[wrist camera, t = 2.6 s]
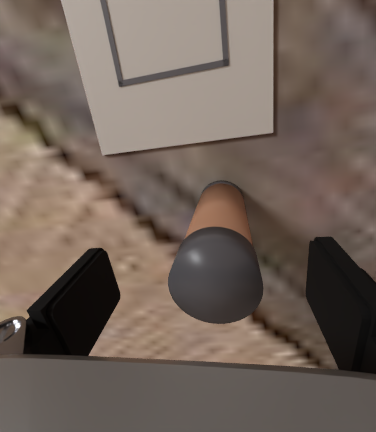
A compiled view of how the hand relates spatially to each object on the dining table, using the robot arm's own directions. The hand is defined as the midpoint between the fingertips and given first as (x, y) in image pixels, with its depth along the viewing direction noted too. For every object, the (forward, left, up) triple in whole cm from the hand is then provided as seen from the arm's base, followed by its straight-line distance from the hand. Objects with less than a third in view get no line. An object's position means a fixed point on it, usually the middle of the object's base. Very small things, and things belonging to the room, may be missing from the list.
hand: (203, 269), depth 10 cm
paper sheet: (+3, -14, -11) cm, 19 cm away
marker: (0, +1, -11) cm, 11 cm away
